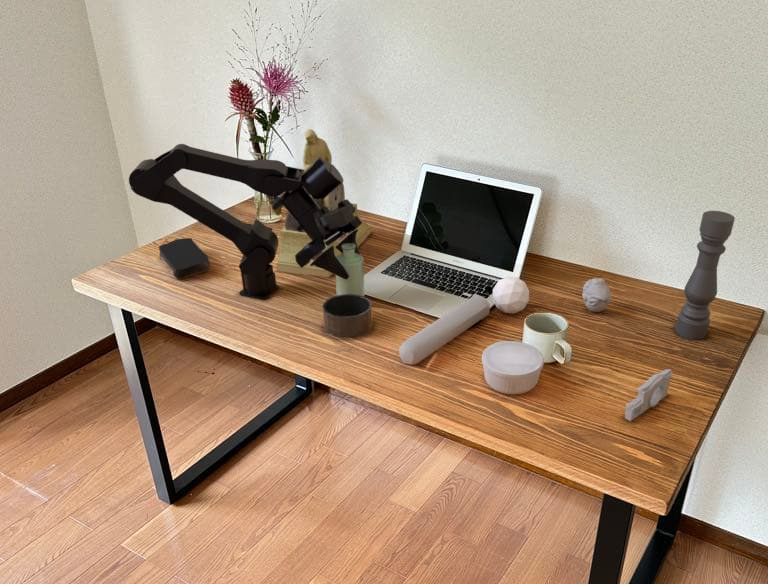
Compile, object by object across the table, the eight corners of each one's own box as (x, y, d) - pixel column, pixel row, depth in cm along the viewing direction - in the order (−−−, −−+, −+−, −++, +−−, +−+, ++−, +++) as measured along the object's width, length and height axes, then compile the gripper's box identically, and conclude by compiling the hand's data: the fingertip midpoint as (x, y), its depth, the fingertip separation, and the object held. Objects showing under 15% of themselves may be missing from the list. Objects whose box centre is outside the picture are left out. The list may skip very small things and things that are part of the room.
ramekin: (498, 404, 127) (500, 379, 124) (469, 371, 136) (471, 347, 133) (553, 390, 131) (556, 366, 128) (522, 359, 139) (524, 335, 137)
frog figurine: (600, 301, 160) (605, 272, 156) (614, 316, 154) (619, 286, 151) (574, 303, 159) (578, 274, 155) (588, 319, 153) (592, 289, 149)
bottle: (331, 300, 156) (329, 248, 149) (343, 288, 161) (341, 238, 154) (357, 305, 154) (355, 253, 148) (368, 293, 159) (367, 242, 152)
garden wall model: (630, 423, 123) (636, 394, 120) (621, 418, 124) (627, 390, 121) (668, 395, 130) (675, 368, 127) (660, 391, 131) (666, 363, 128)
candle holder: (706, 327, 151) (736, 212, 138) (706, 341, 146) (736, 224, 133) (675, 322, 153) (701, 208, 139) (674, 336, 148) (701, 219, 134)
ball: (517, 320, 158) (543, 297, 154) (497, 321, 152) (523, 297, 147) (499, 293, 160) (524, 269, 156) (478, 292, 154) (503, 268, 150)
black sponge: (214, 274, 168) (211, 260, 166) (177, 282, 164) (174, 268, 162) (192, 249, 180) (190, 235, 178) (157, 257, 176) (154, 242, 174)
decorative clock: (328, 278, 167) (320, 148, 151) (277, 271, 170) (264, 142, 154) (370, 233, 190) (367, 115, 174) (325, 227, 193) (317, 111, 177)
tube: (418, 355, 133) (493, 304, 149) (396, 338, 134) (473, 289, 151) (411, 375, 136) (485, 322, 153) (390, 358, 138) (466, 308, 155)
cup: (315, 333, 146) (314, 312, 144) (337, 311, 154) (336, 290, 151) (360, 343, 144) (359, 321, 141) (379, 320, 151) (379, 299, 149)
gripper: (303, 206, 139) (356, 270, 141) (352, 178, 154) (399, 236, 156) (273, 237, 146) (323, 297, 148) (322, 207, 161) (367, 263, 163)
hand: (355, 272), depth 154 cm, fingers closed on bottle, 6 cm apart
